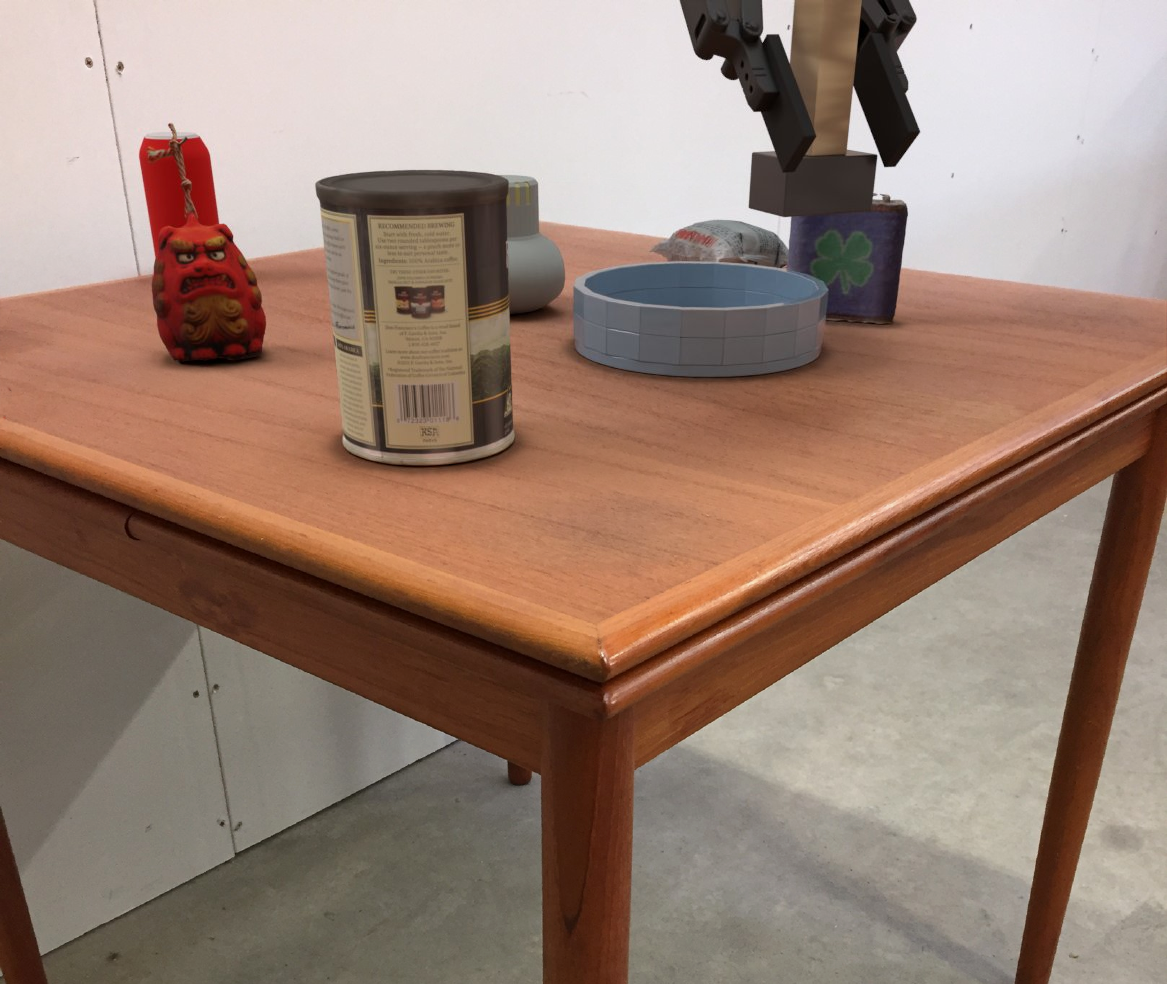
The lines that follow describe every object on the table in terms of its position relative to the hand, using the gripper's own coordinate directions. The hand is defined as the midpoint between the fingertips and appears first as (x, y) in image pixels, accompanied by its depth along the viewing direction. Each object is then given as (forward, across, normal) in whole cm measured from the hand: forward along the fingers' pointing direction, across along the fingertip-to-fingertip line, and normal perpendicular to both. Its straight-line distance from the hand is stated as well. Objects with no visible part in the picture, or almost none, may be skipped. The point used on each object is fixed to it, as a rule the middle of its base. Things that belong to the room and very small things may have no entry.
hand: (851, 151), depth 69 cm
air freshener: (-18, +6, -40) cm, 44 cm away
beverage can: (-35, +28, -57) cm, 72 cm away
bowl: (-5, -3, -26) cm, 27 cm away
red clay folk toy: (-13, +31, -34) cm, 48 cm away
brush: (0, 0, -5) cm, 5 cm away
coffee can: (+6, +23, -16) cm, 29 cm away
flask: (-8, -18, -30) cm, 36 cm away
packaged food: (-21, -18, -43) cm, 51 cm away
